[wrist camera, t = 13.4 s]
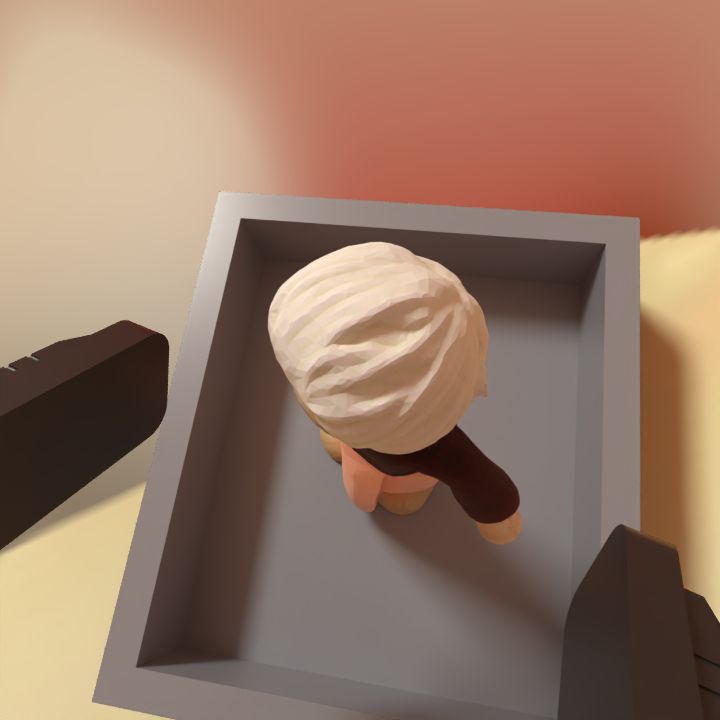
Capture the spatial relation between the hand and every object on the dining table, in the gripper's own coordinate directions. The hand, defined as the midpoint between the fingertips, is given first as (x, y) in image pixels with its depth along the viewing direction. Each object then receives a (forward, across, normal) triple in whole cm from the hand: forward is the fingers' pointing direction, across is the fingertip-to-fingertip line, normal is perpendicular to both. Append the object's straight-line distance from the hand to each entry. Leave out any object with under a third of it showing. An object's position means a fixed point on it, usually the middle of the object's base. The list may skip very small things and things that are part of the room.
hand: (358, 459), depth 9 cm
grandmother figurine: (+8, +1, +6) cm, 10 cm away
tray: (+9, +1, +7) cm, 11 cm away
